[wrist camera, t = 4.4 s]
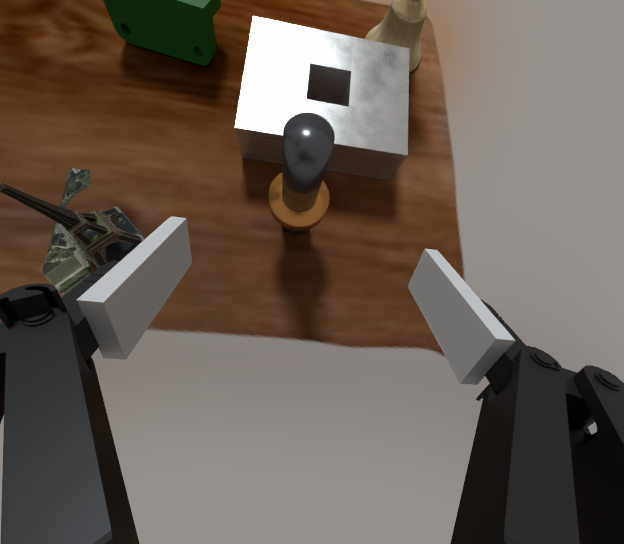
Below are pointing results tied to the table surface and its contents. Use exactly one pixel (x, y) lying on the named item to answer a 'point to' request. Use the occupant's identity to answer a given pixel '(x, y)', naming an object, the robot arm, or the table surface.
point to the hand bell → (402, 28)
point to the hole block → (325, 96)
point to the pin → (302, 173)
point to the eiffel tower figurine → (80, 234)
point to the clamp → (168, 26)
